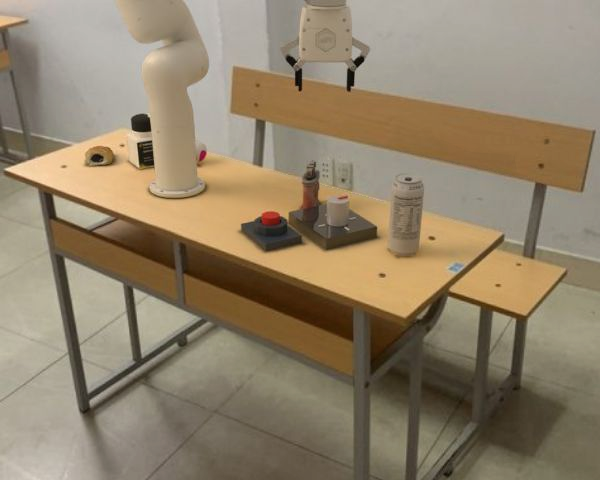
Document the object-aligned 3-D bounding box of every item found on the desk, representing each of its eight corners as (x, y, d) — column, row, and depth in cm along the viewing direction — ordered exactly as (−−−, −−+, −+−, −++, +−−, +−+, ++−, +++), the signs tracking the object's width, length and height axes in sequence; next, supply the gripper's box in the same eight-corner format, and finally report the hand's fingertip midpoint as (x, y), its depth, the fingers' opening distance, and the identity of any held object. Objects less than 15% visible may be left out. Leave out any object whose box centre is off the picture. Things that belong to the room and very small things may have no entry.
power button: (258, 221, 155) (258, 213, 154) (274, 218, 156) (274, 209, 156) (266, 227, 152) (266, 219, 151) (283, 224, 154) (283, 216, 153)
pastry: (91, 154, 199) (89, 139, 197) (117, 154, 200) (116, 139, 198) (84, 166, 191) (82, 151, 189) (112, 166, 192) (110, 151, 190)
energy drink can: (419, 246, 153) (426, 173, 145) (417, 259, 147) (423, 184, 140) (389, 242, 154) (394, 171, 146) (385, 256, 149) (390, 182, 141)
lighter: (314, 216, 165) (315, 171, 160) (299, 214, 166) (299, 170, 161) (321, 202, 172) (322, 158, 167) (306, 200, 173) (306, 157, 168)
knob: (333, 228, 154) (334, 203, 151) (322, 220, 157) (322, 196, 154) (352, 224, 155) (353, 199, 153) (340, 216, 159) (341, 192, 156)
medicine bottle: (139, 169, 190) (134, 121, 184) (128, 161, 195) (123, 114, 189) (166, 164, 193) (162, 117, 187) (155, 156, 198) (151, 109, 192)
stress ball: (184, 180, 193) (189, 163, 187) (170, 155, 195) (175, 138, 189) (211, 173, 196) (216, 156, 191) (197, 148, 199) (202, 132, 193)
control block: (241, 231, 158) (240, 215, 156) (275, 223, 162) (275, 208, 160) (265, 251, 150) (265, 235, 148) (301, 243, 153) (301, 227, 152)
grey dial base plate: (288, 223, 162) (288, 211, 161) (337, 212, 167) (337, 200, 166) (325, 250, 151) (326, 237, 149) (376, 237, 156) (377, 225, 155)
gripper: (279, 1, 142) (280, 94, 151) (373, 2, 142) (369, 95, 151) (280, -5, 149) (281, 84, 157) (370, -5, 149) (366, 85, 157)
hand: (324, 89), depth 154 cm, fingers open, 9 cm apart
